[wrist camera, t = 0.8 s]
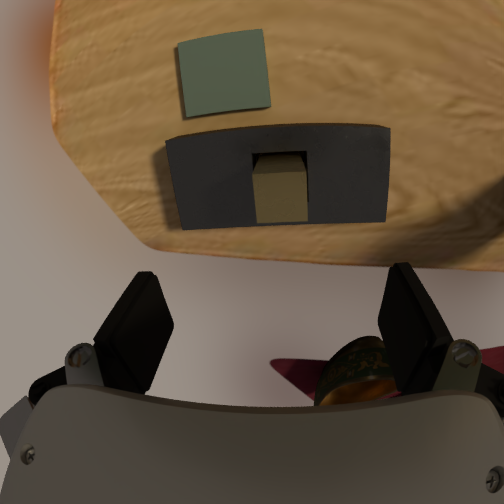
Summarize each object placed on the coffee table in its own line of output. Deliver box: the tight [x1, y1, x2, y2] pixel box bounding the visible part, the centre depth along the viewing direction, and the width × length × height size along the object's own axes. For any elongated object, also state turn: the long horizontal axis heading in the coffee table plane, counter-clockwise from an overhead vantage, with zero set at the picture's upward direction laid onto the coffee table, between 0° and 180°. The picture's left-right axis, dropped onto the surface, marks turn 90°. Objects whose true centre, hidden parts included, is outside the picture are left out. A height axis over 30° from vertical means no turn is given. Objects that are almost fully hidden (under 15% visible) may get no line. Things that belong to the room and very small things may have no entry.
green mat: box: [178, 29, 271, 117], centre depth 24 cm, size 9×9×1 cm
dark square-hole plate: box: [165, 123, 390, 230], centre depth 27 cm, size 22×10×4 cm, turn 96°
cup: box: [314, 336, 398, 406], centre depth 39 cm, size 13×20×10 cm, turn 126°
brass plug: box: [252, 151, 308, 223], centre depth 25 cm, size 4×4×10 cm
